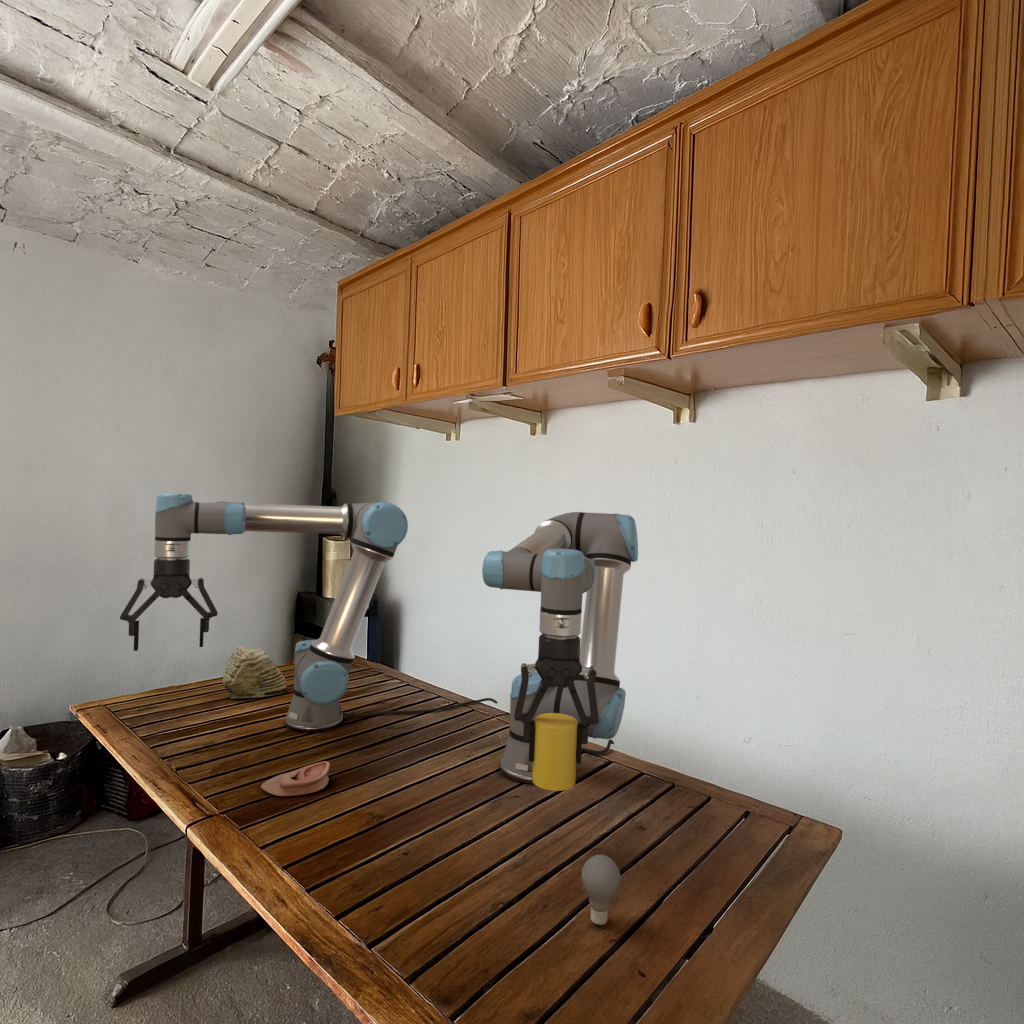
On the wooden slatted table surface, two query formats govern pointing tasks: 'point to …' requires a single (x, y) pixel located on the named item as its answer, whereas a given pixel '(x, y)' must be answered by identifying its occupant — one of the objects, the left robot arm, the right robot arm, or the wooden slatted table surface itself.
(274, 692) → the fossil
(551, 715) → the canister
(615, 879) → the light bulb
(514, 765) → the right robot arm
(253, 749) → the wooden slatted table surface
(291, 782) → the anatomical model
